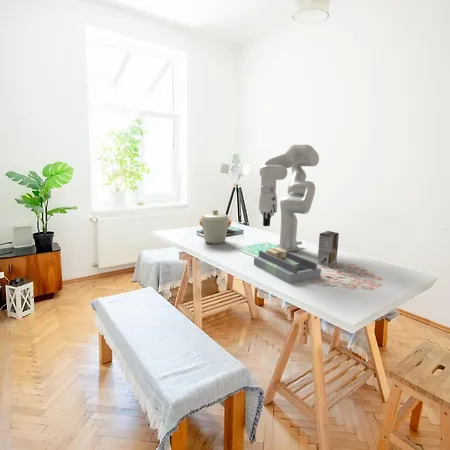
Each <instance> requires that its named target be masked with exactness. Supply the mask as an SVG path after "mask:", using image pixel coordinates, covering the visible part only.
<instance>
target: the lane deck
mask: <svg viewBox="0 0 450 450" xmlns="http://www.w3.org/2000/svg"><path fill="white" fill-rule="evenodd" d="M279 249H280V248H279ZM282 250H283V249H282ZM284 251H285V250H284ZM253 265H254V266H256V267H258V268H259V269H262V270H263V271H264V272H267V273H268V274H271V275H272V276H274V277H277V278H278V279H280V280H282V281H284V282H286V283H288V284H293V283H294V284H295V283H298V282H303V281H308V280H312V279H318V278H321V276H322V275H321V273H322V268H320V267H318V263H317V262H315V261H313V260H310V259H307V258H304V257H303V256H300V255H297V254H295V253H292V252H291V251H286V259H284V260H281V259H279V258H277V257H275V256H272V255H270V254H268V253H266V251H263V250H259V251H258V256H254V257H253Z"/></svg>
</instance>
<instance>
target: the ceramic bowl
mask: <svg viewBox="0 0 450 450" xmlns="http://www.w3.org/2000/svg"><path fill="white" fill-rule="evenodd" d="M198 222H199V226H201V227H202V228H203V224H202V218H200V219H199V220H198ZM231 225H232V219H230V218H229V219H228V227H227V229H228V228H229V227H230V226H231Z"/></svg>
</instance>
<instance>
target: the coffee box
mask: <svg viewBox="0 0 450 450" xmlns="http://www.w3.org/2000/svg"><path fill="white" fill-rule="evenodd" d="M318 238H319V240H318V252H317V262H316V263H317V265H318V264H319V265H322V266H326V267H330V266H332V265H335V264H336V263H337V259H338V248H339V232H334V231H330V230H327V231H324V232H321V233H319V237H318Z"/></svg>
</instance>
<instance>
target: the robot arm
mask: <svg viewBox="0 0 450 450" xmlns="http://www.w3.org/2000/svg"><path fill="white" fill-rule="evenodd" d="M319 162H320V156H319V154H318V152H317V151H316V150H315V148H314V147H313V146H311V145H310V144H292V145H290V146H289V147H288V148H286V150H285V151H284V152H283V153H281V154H280V155H277V156H275V157H272V158H269V159H267V160H266V161H264V163H263V164H262V165H261V166H260V169H259V176H260V178H261V181H260V183H261V184H260V195H259V201H258V210H259V212H260V214H262V218H263V219H262V226H264V227H270V226H271V219H272V217H274V216H275V214H276V213H277V211H278V199H277V198H278V195H277V193H276V192H277V181H282V180H285V179H286V178H287V176H288V169H289V168H291V178H290V179H289V183H288V187H287V194H288V195H285V196H282V198H281V199H280V202H279V206H280V232H279V233H280V234H279V244H278V245H276V248H280V249H283V250H285V251H288V252H295V251H298V250H299V246H298V245H300V246H301V245H303V242H302V241H301V240H299V241H298V240H297V235H298V233H297V232H298V231H297V230H298V218H297V215H296V214H299V215H300V214H302V215H306V214H309V212H310V210H311V207H312V204H313V201H314V197H315V193H316V185H315V183H314V182H313V181H310V180H309V181H308V180H307V174H306V170H304V169H303V167H316V166H317V165H318V164H319Z"/></svg>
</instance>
